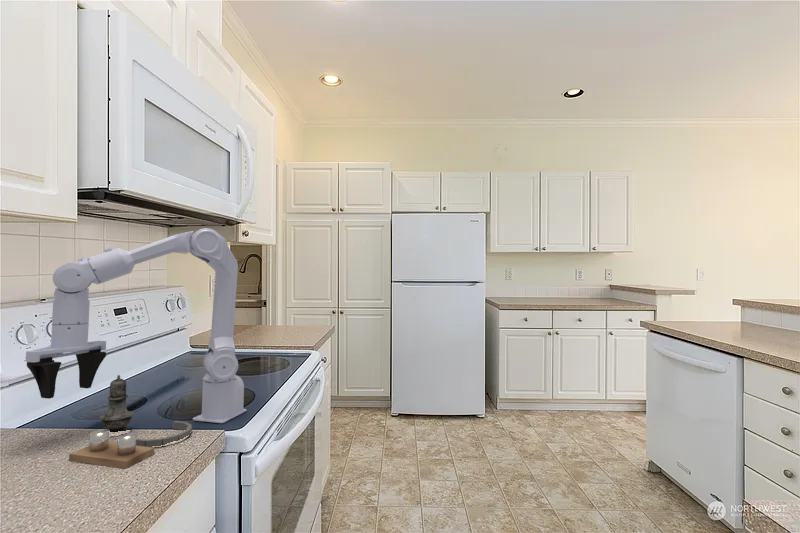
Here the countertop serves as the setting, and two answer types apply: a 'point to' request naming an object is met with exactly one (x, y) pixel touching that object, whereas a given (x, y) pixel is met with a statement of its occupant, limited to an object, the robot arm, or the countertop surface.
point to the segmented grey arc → (163, 441)
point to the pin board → (112, 450)
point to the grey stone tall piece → (117, 408)
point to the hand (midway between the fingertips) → (67, 392)
